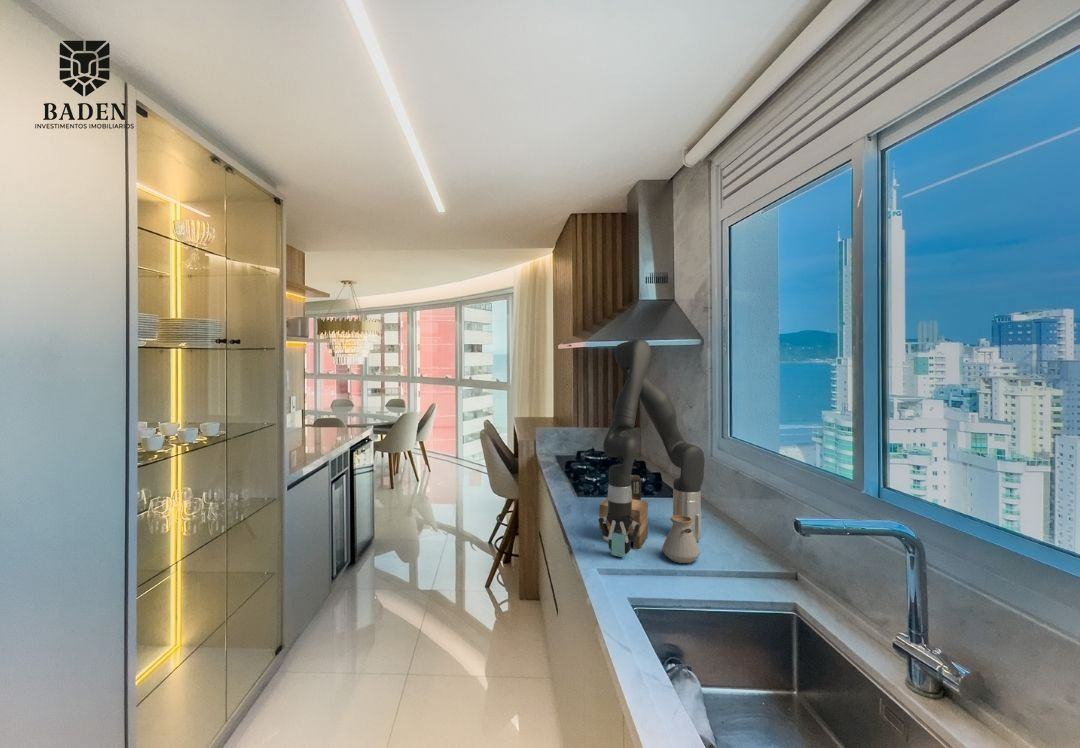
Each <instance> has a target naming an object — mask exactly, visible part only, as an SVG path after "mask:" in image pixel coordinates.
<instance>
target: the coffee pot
mask: <svg viewBox="0 0 1080 748" xmlns="http://www.w3.org/2000/svg"><path fill="white" fill-rule="evenodd" d="M669 519H670V521H671V522H672V526H671V528H670V530H669V532H668V534H667V536H666V538H665V540H664V543H663V544H662V551H663V553H664V555H665V556H666V557H667V558H668V559H669V558H670V559H671V560H670V559H669V560H670V561H672V560H673V561H675V562H674V563H676V562H679V563H678V564H681V563H689V564H692V563H693V562H695V561H697V559H698V558H699V557H700V555H701V549H700V546H699V544H698V542H696V539H695V537H694V534H695V533H694V534H693V532H692V529H691V527H690V524H691V522H692V518H690V517H688V516H683V515H674V516H673V515H672V516H671V517H669ZM673 561H672V562H673ZM691 562H692V563H691Z"/></svg>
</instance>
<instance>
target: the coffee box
mask: <svg viewBox="0 0 1080 748" xmlns="http://www.w3.org/2000/svg"><path fill="white" fill-rule="evenodd" d="M631 489H632V499H634V500H641V501H642V493H641V492H642V479H641V477H640V475H638V474H631Z"/></svg>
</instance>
